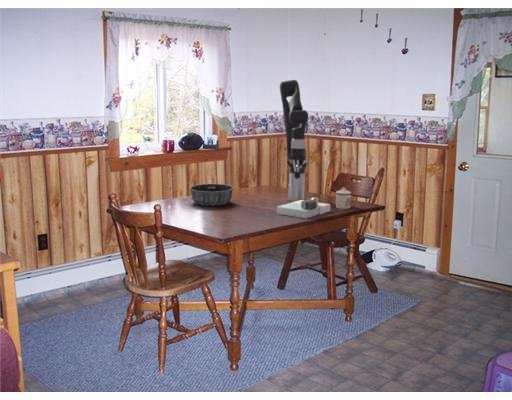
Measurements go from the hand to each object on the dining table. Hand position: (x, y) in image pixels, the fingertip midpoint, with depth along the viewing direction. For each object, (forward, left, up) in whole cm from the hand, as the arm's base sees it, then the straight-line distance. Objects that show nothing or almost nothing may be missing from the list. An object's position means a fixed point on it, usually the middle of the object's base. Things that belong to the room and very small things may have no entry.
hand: (297, 178), depth 341 cm
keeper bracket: (+9, +1, -16) cm, 19 cm away
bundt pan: (-56, -6, -20) cm, 60 cm away
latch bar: (+6, +5, -16) cm, 17 cm away
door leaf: (0, 0, -20) cm, 20 cm away
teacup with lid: (+12, +34, -20) cm, 41 cm away
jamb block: (+1, +13, -20) cm, 24 cm away
